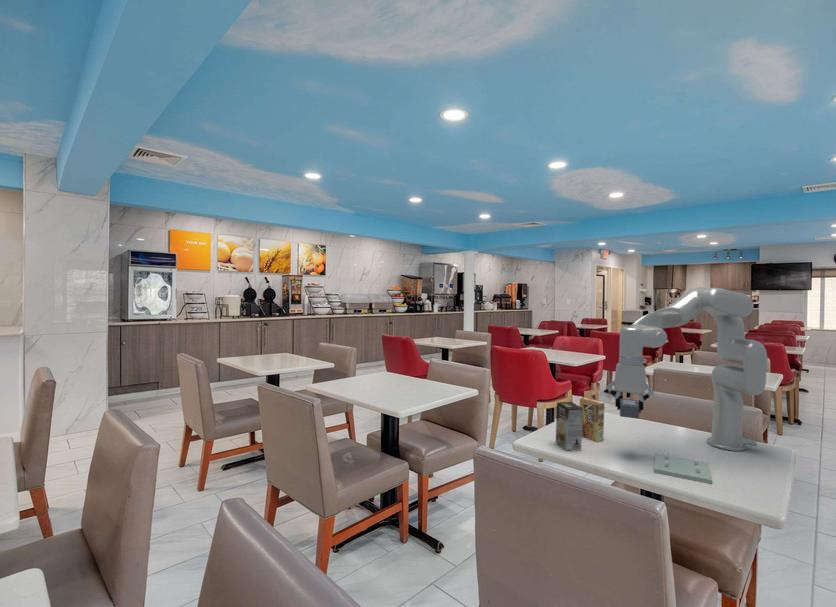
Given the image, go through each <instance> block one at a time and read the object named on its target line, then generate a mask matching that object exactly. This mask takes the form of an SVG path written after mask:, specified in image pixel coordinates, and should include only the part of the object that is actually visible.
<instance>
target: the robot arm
mask: <svg viewBox="0 0 836 607" xmlns="http://www.w3.org/2000/svg"><path fill="white" fill-rule="evenodd" d="M754 306H755V305H754V301H753V299H752V298H751V297H750V295H747V294H745V293H742V292H737V291H733V290H729V289H725V288H722V287H700V286H699V287H694V288H691V289H690V290H688V291H687V292H685V293H684V294H683V295H681V296H680V297H678V298H677V299H676V300H675V301H673V302H672V303H671V304H669V305H668V306H666V307H662V308H660V309H657V310H656V311H653V312H649V313H647V314H645V315H642V316H641V317H640V318H638V319H637V320H636V321H634V322H633V323H632V324H631V325H629V326H622V327H621V328H620V331H619V348H618V350H619V352H618V356H619V357H618V363H616V367H615V371H614V372H615V373H614V380H613V381H611V382H610V383H609V384H607V385H606V386H605V388H606V389H607V391H608V392H610V394H611V395H612V396H613V397H614V398H615V403H614V404H615V405H614V406H615V407H617V408H616V409H617V410H618V411H620V399H621V397H620V396H621V393H628V394H636V395H637V396H638V399H639V400H638V403H639V414H641V413H642V411H644V402H646V400H647V399H649V398H650V397H652V396H653V395H654V394H655V390H653V389H652V387H650V385H648V384H647V378H646V377H647V376H646V375H647V374H646V373H647V372H646V367H645V365H644V364H647V363H648V360H647V359H646V358H644V356H643V351H644V350H643V348H644V347H645V348H652V349H655V348H660V347H662V346H664V345H666V342H667V340H668V335H667V333H666V331H665V330H664V329H668V328H677V327H680V326H684V325H686V324H687V323H688V322H690V321H691V320H693V319H695V317H697V316H698V315H700V314H701V312H705V311H706V313H708V314H709V315H711V317H712V318H713V319H714V321H715V323H716V326H717V336H716V337H717V342H716V343H717V344H716V347H717V348H716V353H717V356H718V358H719V359H721V360H722V361H725V362H729V363H734V364H739V365H742V366H738V365H733V364H732V365H731V364H724V363H723V364H718V365H716V366H715V367H714V368H713V369H712V371H711V376H710V377H711V383H712V390H713V391H712V392H713V400H712V418H711V419H712V424H711V436H709V437H707V438H706V443H707V444H708V445H710V446H713V447H715V448H718V449H721V450H726V451H733V452H741V451H742V452H743V451H746V449H747V445H748V446H752V447H757V446H758V445H757V444H758V442H757V440H752V439H751V438H745V437H744V436H743V434H742V433H743V432H742V431H743V429H742V428H743V415H744V414H743V413H744V400H743V397H742V395H741V394H744V395H748V396H758V395H761V394H762V393H763V392H764V390H765V388H766V383H767V367H768V366H767V365H768V352H767V349H766V347H765V346H764V344H763V343H761V342H760V341H758V340H754V339H746V337H745V336H746V335H745V323H744V321H743V319H742V318H744V317H747V316H749V315H750V314H751V313H752V312H753V310H754ZM613 387H614V389H613ZM646 390H647V391H648V392H647V393H646ZM645 393H646V394H645Z"/></svg>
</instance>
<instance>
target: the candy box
mask: <svg viewBox="0 0 836 607" xmlns="http://www.w3.org/2000/svg"><path fill="white" fill-rule="evenodd" d="M579 406H580V407H581V408H583V419H582V437H583V438H586V439H589V440H592V441H595V442H601V441H604V435H605V434H604V430H605V429H604V427H605V425H604V424H605V402H604V401H600V400H597V399H593V398H589V397H582V398H579Z"/></svg>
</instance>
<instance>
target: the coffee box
mask: <svg viewBox="0 0 836 607" xmlns="http://www.w3.org/2000/svg"><path fill="white" fill-rule="evenodd" d="M556 404H557V405H556V424H555V425H556V427H555V429H556V430H555V443H556V444H558V446H560V447H561V448H562V447H563V448H564V450H565V451H566V450H576V451H582V442H583V441H582V439H583V438H582V437H583V436H582V419H583V408H581V407H580V405H578V404H576V403H574V402H572V401H560V402H559V401H557V402H556Z"/></svg>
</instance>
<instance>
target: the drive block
mask: <svg viewBox="0 0 836 607" xmlns="http://www.w3.org/2000/svg"><path fill="white" fill-rule="evenodd" d="M619 417H622V418H628V419H629V418H630V419H640V413H639V400H637V399H636V400H635V399H628V398H620V409H619Z"/></svg>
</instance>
